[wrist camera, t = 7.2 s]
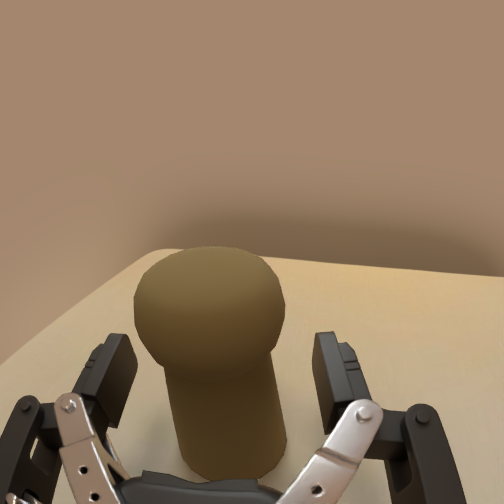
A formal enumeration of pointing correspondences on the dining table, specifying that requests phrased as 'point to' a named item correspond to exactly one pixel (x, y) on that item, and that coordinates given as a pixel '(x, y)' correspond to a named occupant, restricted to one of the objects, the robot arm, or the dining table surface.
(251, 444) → the cork
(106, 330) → the dining table surface
